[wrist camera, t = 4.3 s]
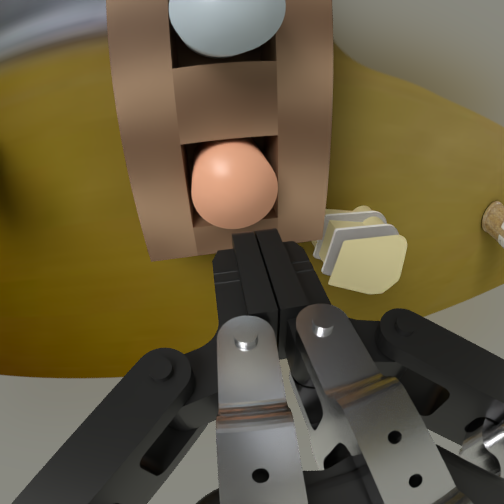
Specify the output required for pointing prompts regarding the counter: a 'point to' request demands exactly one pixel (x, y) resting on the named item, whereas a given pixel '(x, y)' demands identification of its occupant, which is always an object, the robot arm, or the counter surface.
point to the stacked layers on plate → (360, 250)
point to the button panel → (222, 120)
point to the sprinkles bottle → (494, 221)
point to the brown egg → (232, 183)
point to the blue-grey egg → (225, 24)
